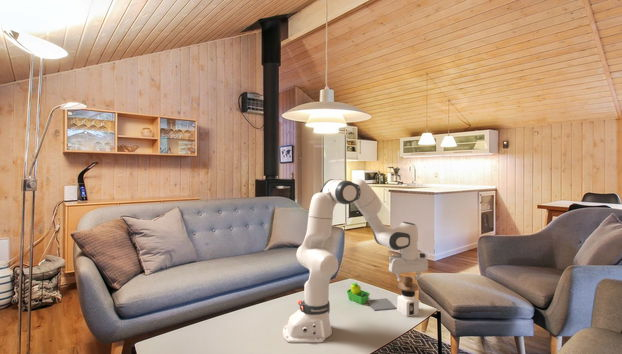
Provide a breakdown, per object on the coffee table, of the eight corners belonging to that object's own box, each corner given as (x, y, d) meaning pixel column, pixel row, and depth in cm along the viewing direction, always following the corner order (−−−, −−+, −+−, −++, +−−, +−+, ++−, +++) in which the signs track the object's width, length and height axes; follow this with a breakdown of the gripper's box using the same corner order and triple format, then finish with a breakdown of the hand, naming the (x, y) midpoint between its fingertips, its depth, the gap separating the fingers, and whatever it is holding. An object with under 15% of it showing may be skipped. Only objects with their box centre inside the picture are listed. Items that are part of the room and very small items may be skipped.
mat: (374, 310, 170) (374, 309, 170) (366, 301, 182) (366, 300, 182) (396, 308, 173) (396, 307, 173) (386, 299, 184) (386, 298, 184)
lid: (403, 292, 162) (403, 282, 162) (394, 284, 172) (394, 275, 172) (422, 290, 164) (422, 280, 164) (412, 283, 174) (412, 273, 173)
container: (419, 314, 166) (419, 289, 166) (406, 317, 163) (406, 291, 163) (409, 308, 173) (409, 283, 173) (397, 310, 171) (397, 286, 170)
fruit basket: (370, 302, 181) (370, 282, 180) (360, 307, 175) (360, 286, 174) (354, 295, 189) (354, 276, 189) (344, 300, 183) (344, 280, 183)
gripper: (392, 256, 162) (391, 284, 162) (429, 254, 166) (429, 281, 166) (386, 253, 168) (386, 279, 169) (423, 250, 172) (423, 276, 173)
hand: (408, 280), depth 168 cm, fingers open, 8 cm apart
